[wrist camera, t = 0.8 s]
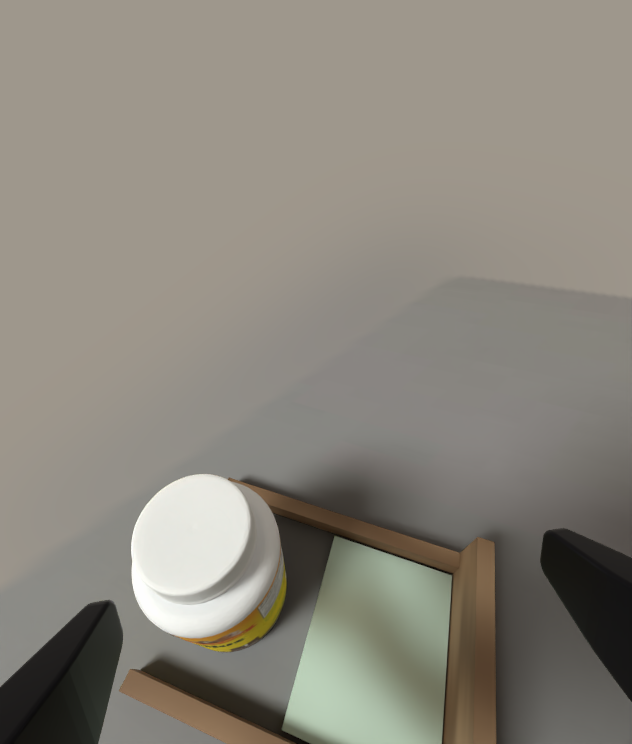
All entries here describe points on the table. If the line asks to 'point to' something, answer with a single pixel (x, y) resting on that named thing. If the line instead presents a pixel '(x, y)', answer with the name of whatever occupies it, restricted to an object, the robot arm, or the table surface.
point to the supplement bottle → (209, 563)
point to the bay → (375, 646)
